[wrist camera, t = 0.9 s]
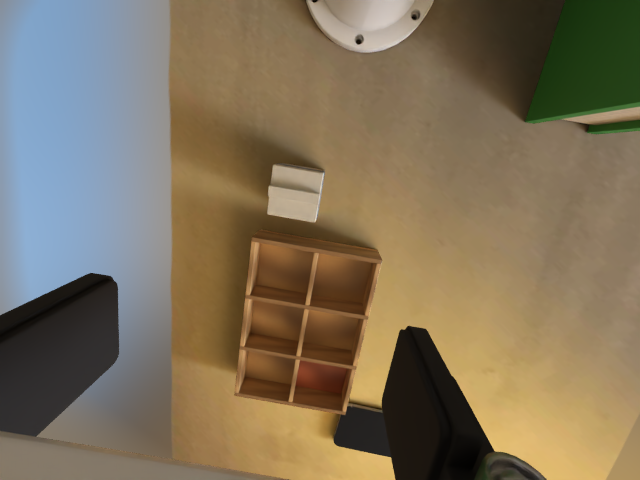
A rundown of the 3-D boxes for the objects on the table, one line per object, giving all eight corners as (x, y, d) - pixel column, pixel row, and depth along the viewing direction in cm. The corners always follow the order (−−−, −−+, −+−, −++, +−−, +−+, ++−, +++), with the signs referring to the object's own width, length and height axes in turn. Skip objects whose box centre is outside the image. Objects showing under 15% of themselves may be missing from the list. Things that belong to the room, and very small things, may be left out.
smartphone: (434, 467, 43) (331, 445, 43) (433, 462, 44) (331, 441, 44) (451, 427, 41) (344, 404, 41) (450, 423, 42) (343, 400, 42)
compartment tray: (259, 229, 36) (251, 237, 32) (377, 249, 36) (382, 260, 32) (242, 375, 41) (234, 395, 38) (344, 393, 41) (345, 415, 38)
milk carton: (282, 162, 33) (270, 164, 28) (325, 170, 33) (323, 173, 28) (276, 205, 35) (264, 216, 29) (318, 212, 35) (314, 224, 29)
